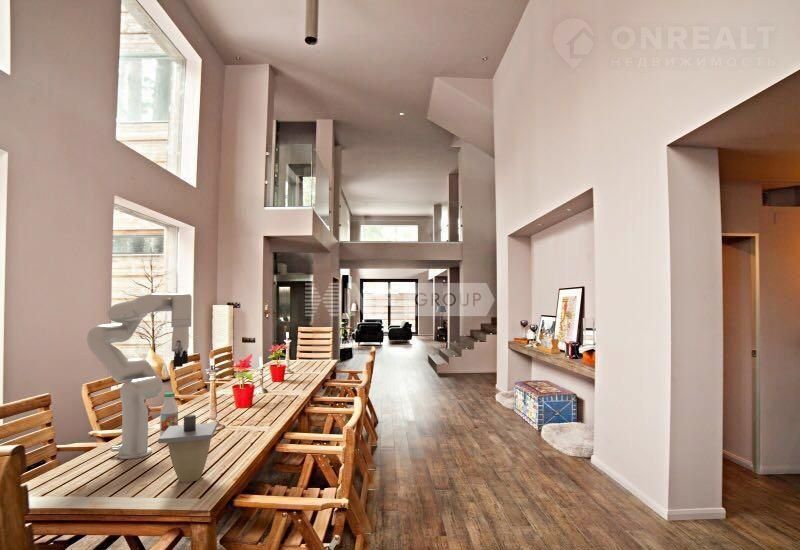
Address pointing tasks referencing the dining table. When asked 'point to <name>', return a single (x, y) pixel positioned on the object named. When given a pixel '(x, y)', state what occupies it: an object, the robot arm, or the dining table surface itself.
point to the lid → (188, 431)
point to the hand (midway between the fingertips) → (180, 365)
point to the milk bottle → (168, 412)
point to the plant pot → (189, 458)
